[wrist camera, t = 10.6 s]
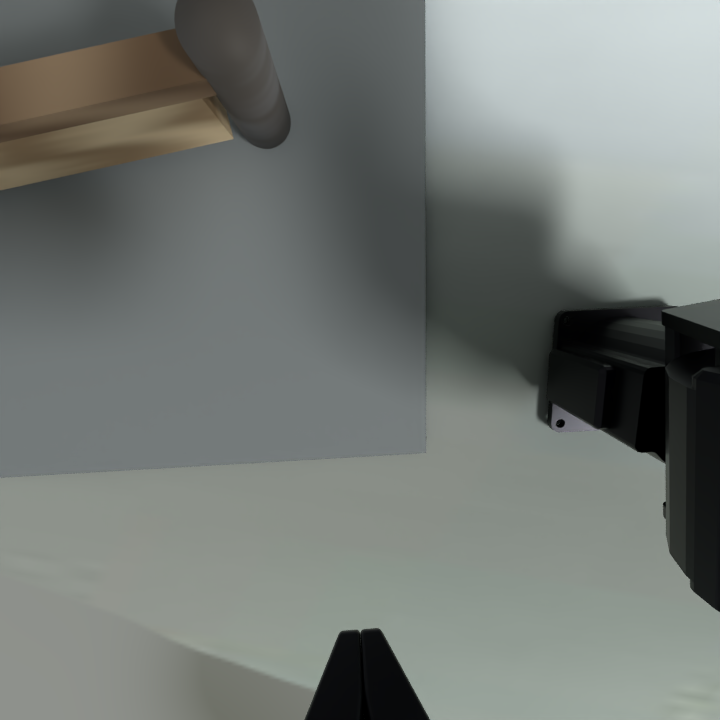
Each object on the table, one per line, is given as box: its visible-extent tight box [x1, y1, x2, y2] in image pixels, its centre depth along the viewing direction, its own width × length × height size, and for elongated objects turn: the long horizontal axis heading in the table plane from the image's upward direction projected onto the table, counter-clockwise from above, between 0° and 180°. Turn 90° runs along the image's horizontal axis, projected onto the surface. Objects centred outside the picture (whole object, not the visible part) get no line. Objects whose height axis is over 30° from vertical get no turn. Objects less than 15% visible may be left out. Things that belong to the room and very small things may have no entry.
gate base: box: [0, 0, 426, 478], centre depth 15 cm, size 24×21×7 cm
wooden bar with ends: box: [0, 0, 291, 190], centre depth 13 cm, size 16×2×6 cm, turn 102°
